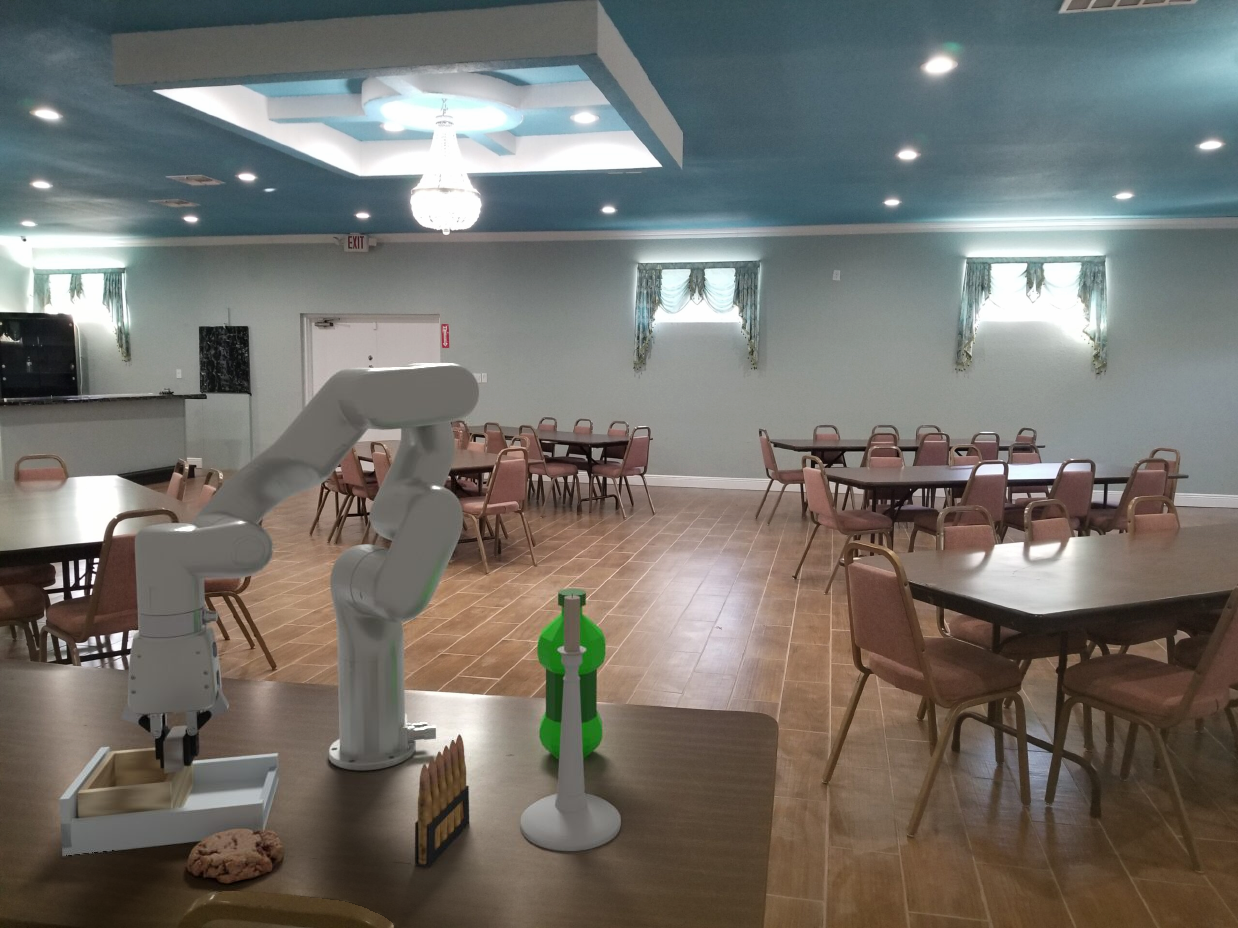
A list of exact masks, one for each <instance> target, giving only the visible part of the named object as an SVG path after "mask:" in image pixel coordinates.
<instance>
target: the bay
mask: <svg viewBox="0 0 1238 928" xmlns="http://www.w3.org/2000/svg"><path fill="white" fill-rule="evenodd" d="M110 751H111V749H110V746H103V747H102V746H101V747H100V748H99V749H98V750H97V752H96V753H95V754H94V756H93V757H92V758H91V759H90V760H89V762H88V763H87V764H86V766H84V768H83V770H82V771H81V772H80V773H79V774H78V775H77V777H76V778H75V779H74V781H73V782H72V783H71V784H70V785H69V787H68V788H67V789H66V790H65V792H64V793H63V794H62V796H61V797H60V798H59V801H58V802H59V815H60V831H61V832H60V833H61V835H60V836H61V850H62V851H61V852H62V853H61V855H62V857H69V856H68V855H72V856H75V855H74V854H80V855H83V854H82V853H89V854H95V853H94V852H98V853H104V852H103V851H107V852H114V851H122V850H133V849H141V848H151V847H159V846H168V845H169V846H170V845H174V844H175V845H178V844H184V843H186V844H187V843H194V842H201V841H202V840H204V839H205V838H206V837H208V836H211V835H214V834H216V833H219V832H224V831H227V830H232V829H248V830H252V831H253V832H256V831H258V830H259V829H261V830H266V827H267V822H268V819H269V816H270V814H271V813H270V812H271V808H272V805H273V802H274V798H275V795H276V793H277V789H278V785H279V783H280V773H279V772H280V771H279V769H280V767H279V753H278V752H276V753H275V752H274V753H273V752H272V753H266V754H265V753H263V754H253V755H252V754H251V755H242V756H231V757H229V756H228V757H220V758H218V757H217V758H209V759H199V760H193V777H194V786H193V788H192V790H191V792H190V794H189V796H188V798H187V800H186V802H185V804H184V806H183V808H173V809H163V810H154V811H144V812H134V813H125V814H115V815H105V816H96V817H86V818H79V816H78V797H77V793H78V792H79V791H80V789H81V788H82V787H83V785H84V784H85V783H86V781H87V780H88V779H89V777H90V776H91V775H92V774H93V772H94V771H95V770H96V768H97V767H98V766H99V764H100V763H101V762H102V761H103V759H104V758H105V757H106V755H107V754H108V753H109V752H110ZM112 850H114V851H112ZM92 852H93V853H92ZM66 855H67V856H66Z"/></svg>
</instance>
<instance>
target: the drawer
mask: <svg viewBox="0 0 1238 928" xmlns="http://www.w3.org/2000/svg"><path fill="white" fill-rule="evenodd" d="M186 728H187V724H186V725H177V726H173V727H172V728H170V732H169V734H168V736H167V737H166V739H165V740H164V742H163V748H164V768H163V769H161V768H160V760H156V754H155V747H148V748H146V747H145V748H144V747H143V748H135V749H122V750H112V751H111V750H110V752H109V753H108V754H107V755H106V757H105V758H104V759H103V761H102V762H101V763H100V764H99V766H98V767H97V768H96V770H95V771H94V772H93V774H92V775H91V776H90V777H89V779H88V780H87V781H86V783H85V784H84V785H83V787H82V788H81V789H80V791H79V792H78V793H77V797H78V816H79V818H86V817H96V816H105V815H115V814H125V813H134V812H144V811H154V810H163V809H173V808H183V806H184V804H185V802H186V800H187V798H188V796H189V794H190V792H191V790H192V788H193V786H194V777H193V762H192V763H191V765H190V766H185V765H184V755H183V737H184V735H185V730H186Z"/></svg>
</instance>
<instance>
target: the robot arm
mask: <svg viewBox="0 0 1238 928" xmlns="http://www.w3.org/2000/svg"><path fill="white" fill-rule="evenodd" d="M479 397H480V387H479V383H478V380H477V378H476V376H475V375H474V374H473V372H472V371H471V370H469V369H468V368H467V367H465V366H463V365H461V364H457V363H453V362H452V363H451V362H429V363H428V362H421V363H420V362H417V363H416V362H415V363H409V364H406V365H402V366H401V367H352V368H351V367H349V368H345V369H340V370H339V371H338V372H336V373H334V374H333V375H332V376H330V378H329V379H328V380H327V381H326V382H325V383H323V385H322V386H321V388H320V389H319V390H318V391H317V393H316V394H314V395H313V397H312V398H311V399H310V400H309V402H308V403H307V404H306V405H305V407H304V408H302V410H301V411H300V412H299V414H297V416H296V417H295V418H294V419H293V421H292V422H291V423H290V424H289V425H288V427H287V428H286V429H285V430H284V431H283V432H282V434H281V435H280V436H279V437H278V438H277V439H276V440H275V442H273V443H272V444H271V445H269V447H268V448H267V447H266V449H264V450H262V452H260V453H259V454H258V455H257V456H255V457H254V458H253V459H252V460H250V461H249V462H248V463H246V464H245V465H244V466H243V467H241V468H240V469H239V470H237V471H236V472H235V473H234V474H233V475H231V477H229V478H228V479H227V480H226V481H225V482H224V483H223V484H222V485H221V486H220V487H219V488H218V490H217V491H215V493H214V494H213V495H212V496H211V498H210V499H209V500H208V501H207V502H206V503H205V505H204V506H203V507H202V508H201V509H200V511H199V512H198V513H197V515H195V516H194V519H193V520H192V521H191V523H186V522H169V523H159V524H152V525H148V526H145V527H142V528H141V529H140V530H138V532H136V534H135V537H134V556H135V557H134V559H135V576H136V577H135V578H136V579H135V580H136V603H137V623H138V624H137V626H138V631H137V632H136V633H135V634H134V636H133V637H132V642H131V647H130V653H129V654H130V656H129V664H128V677H127V701H126V703H125V704H124V705H125V706H124V707H123V708H124V709H123V710H122V713H121V715H120V719H121V720H122V721H125V722H128V723H131V724H132V723H133V724H135V725H136V724H137V725H139V726H140V727H142V728H143V729H144V730H146V731H147V732H148V733H149V734H150V736H151V738H152V739H154V748H155V754H156V760H160V768H161V769H163V768H164V748H163V742H164V740H165V739H166V737H167V736H168V734H169V732H170V731H171V728H169V726H168V724H167V722H168V721H167V715H168V714H177V713H185V722H186V725H187V728H186V730H185V735H184V737H183V755H184V765H185V766H190V765H191V763H192V762H193V761H195V757H199V755H200V730H201V729H202V728H203V726H205V725H206V723H208V722H209V721H210V719H211V720H212V719H213V718H215V717H218V716H220V715H222V714H225V713H227V711H228V709H229V708H230V703H229V702H228V700H227V698H226V696H225V694H224V692H223V690H222V686H223V685H222V675H221V664H220V657H219V651H218V644H217V639H216V635H215V632H214V631H215V630H214V628H213V626H208V624H209V623H212V622H218V619H219V613H218V610H211V609H209V608H208V607H207V604H205V603H206V599H205V595H206V594H205V580H206V579H209V580H210V579H243V578H247V577H251V576H253V575H256V574H258V573H259V572H261V571H262V570H264V569H265V567H267V565H268V564H269V563H270V561H271V559H272V557H273V554H274V542H273V539H272V537H271V535H270V534H269V532H268V531H267V530H266V529H265V528H264V527H262V525H260V522H261V521H262V520H263V519H264V517H266V516H267V515H268V514H269V513H270V512H271V511H272V510H273V509H274V508H275V507H277V506H278V505H280V504H281V503H283V502H284V501H285V500H287V499H289V498H291V497H293V496H295V495H299V494H301V493H303V492H307V491H309V490H311V489H313V488H315V487H318V486H320V485H321V484H323V483H325V482H326V481H327V480H328V479H329V478H330V477H332V475H333V474H334V472H335V471H336V469H337V468H338V467H339V466H340V465H341V463H342V462H343V460H344V459H345V458H346V457H347V455H348V454H349V453H350V451H351V450H352V449H353V448H354V447H355V445H357V443H358V442H359V441H360V440H361V438H362V437H363V436H364V434H365V433H366V432H367V430H370V429H371V430H379V431H383V430H384V431H386V430H387V431H389V430H399V429H400V442H399V446H398V449H397V450H396V453H395V455H394V458H393V460H392V462H391V465H390V466H389V469H388V471H387V473H386V474H385V477H384V479H383V481H382V483H381V485H380V487H379V489H378V491H377V493H376V495H375V497H374V499H373V501H372V504H371V507H370V510H369V523H370V525H371V527H372V529H373V530H374V531H375V533H376V534H378V535H379V536H380V537H382V538H385V539H386V540H389V541H392V542H391V543H390V547H389V548H387V547H384V546H379V545H375V544H368V543H367V544H358V545H354V546H351V547H349V548H348V549H345V550H344V551H343V552H342V553H341V554H340V555H338V557H337V558H336V560H335V562H334V564H333V566H332V569H331V573H330V580H329V581H330V582H329V585H330V594H331V601H332V603H333V604H332V605H333V610H334V616H335V624H336V636H337V637H336V638H337V641H336V642H337V679H338V680H337V682H338V683H337V685H338V689H337V690H338V730H339V731H338V733H339V734H338V735H339V738H338V739H337V740H335V741H334V742H333V743H331V745H330V746H329V748H328V759H329V761H330V763H331V764H333V765H334V766H336V767H338V768H341V769H345V770H348V771H349V770H352V771H375V770H381V769H387V768H390V767H393V766H396V765H398V764H401V763H403V762H404V761H407V760H408V759H410V758H411V757H412V756H413V755H414V753H415V751H416V749H417V748H416V747H417V744H416V741H418V740H419V741H421V740H424V741H427V740H436V738H437V730H436V727H437V726H436V725H428V721H426V722H425V721H424V722H423V721H421V722H415V723H412V721H408V714H407V713H406V705H405V704H406V703H405V701H406V699H405V696H406V695H405V691H406V690H405V686H406V685H405V636H404V635H405V634H404V633H405V632H404V627H403V623H406V622H409V621H412V620H415V618H417V617H418V616H420V614H422V613H423V612H424V611H425V610H426V608H427V607H428V606H429V604H430V603H431V601H432V599H433V597H434V595H435V594H436V591H437V589H438V587H439V585H440V583H441V581H442V578H443V576H444V574H445V572H446V569H447V567H448V565H449V562H450V560H451V558H452V556H453V554H454V551H455V549H456V547H457V545H458V542H459V540H460V537H461V535H462V530H463V525H464V523H463V522H464V514H463V513H464V511H463V506H462V505H461V502H460V500H459V498H458V496H457V495H456V494H455V493H454V492H453V491H451V489H448V488H446V487H445V485H446V482H447V479H448V476H449V474H450V471H451V469H452V466H453V464H454V461H455V456H456V440H455V434H454V429H453V426H452V423H453V422H458V421H461V420H463V419H465V418H466V417H468V416H469V415H470V414H471V413H472V412H473V411H474V410H475V408H476V406H477V404H478V403H479Z"/></svg>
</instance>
